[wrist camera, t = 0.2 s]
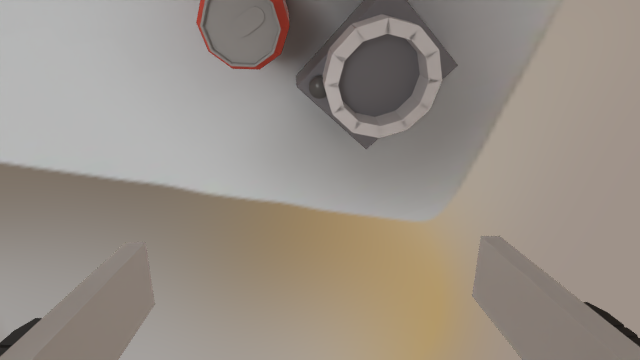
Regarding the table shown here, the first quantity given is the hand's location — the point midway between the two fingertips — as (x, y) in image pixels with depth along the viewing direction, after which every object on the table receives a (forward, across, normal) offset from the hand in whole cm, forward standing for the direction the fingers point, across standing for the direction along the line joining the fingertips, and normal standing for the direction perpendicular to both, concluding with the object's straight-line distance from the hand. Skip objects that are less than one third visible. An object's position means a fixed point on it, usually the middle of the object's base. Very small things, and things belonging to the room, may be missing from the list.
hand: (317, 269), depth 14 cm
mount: (+26, +6, +9) cm, 28 cm away
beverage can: (+24, -5, +14) cm, 29 cm away
